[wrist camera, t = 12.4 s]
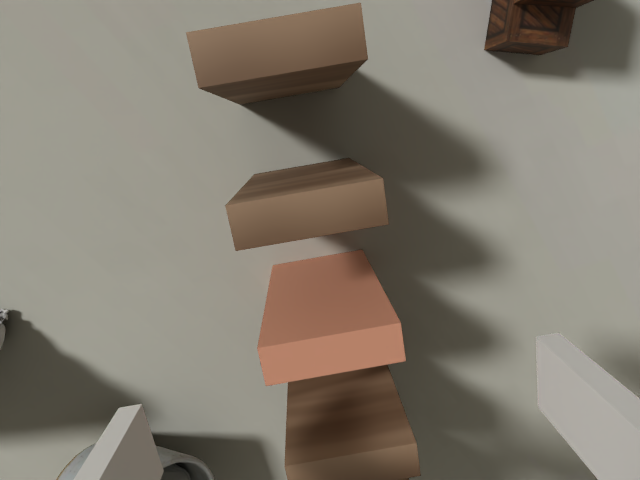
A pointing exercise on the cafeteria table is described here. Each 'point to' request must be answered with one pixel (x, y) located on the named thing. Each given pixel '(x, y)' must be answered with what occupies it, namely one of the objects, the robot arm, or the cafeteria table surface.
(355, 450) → the domino
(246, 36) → the domino
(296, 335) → the domino
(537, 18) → the stack of crates
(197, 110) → the cafeteria table surface
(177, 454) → the ceramic mug
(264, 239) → the domino
